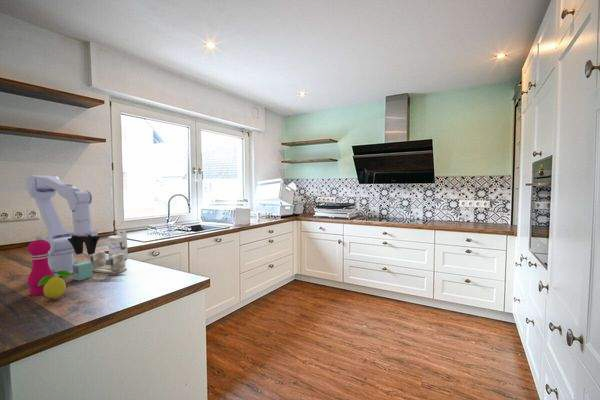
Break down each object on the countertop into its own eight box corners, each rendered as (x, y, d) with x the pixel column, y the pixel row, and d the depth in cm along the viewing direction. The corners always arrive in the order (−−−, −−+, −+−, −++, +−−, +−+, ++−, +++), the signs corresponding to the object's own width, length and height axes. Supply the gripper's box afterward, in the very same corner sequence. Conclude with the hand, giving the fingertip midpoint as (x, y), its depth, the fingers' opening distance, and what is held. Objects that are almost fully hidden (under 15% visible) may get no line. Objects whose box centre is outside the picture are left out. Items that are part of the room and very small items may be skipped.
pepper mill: (53, 286, 105) (49, 233, 104) (58, 291, 101) (54, 235, 99) (26, 292, 100) (22, 236, 98) (30, 297, 95) (25, 238, 94)
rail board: (113, 274, 119) (112, 256, 119) (90, 270, 125) (89, 254, 125) (126, 270, 125) (125, 253, 124) (104, 266, 131) (103, 250, 130)
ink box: (108, 259, 144) (106, 230, 143) (118, 257, 148) (117, 229, 148) (118, 261, 140) (116, 231, 139) (128, 259, 144) (127, 230, 143)
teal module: (78, 280, 112) (78, 265, 111) (72, 279, 113) (71, 264, 113) (92, 276, 117) (92, 262, 116) (86, 275, 118) (85, 261, 118)
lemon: (73, 295, 97) (71, 266, 96) (59, 302, 91) (57, 271, 90) (53, 295, 96) (51, 266, 96) (37, 302, 91) (35, 272, 90)
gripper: (103, 218, 116) (107, 251, 116) (81, 220, 121) (84, 251, 122) (85, 220, 109) (89, 255, 110) (62, 222, 115) (65, 255, 115)
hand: (85, 254), depth 115 cm, fingers open, 7 cm apart
